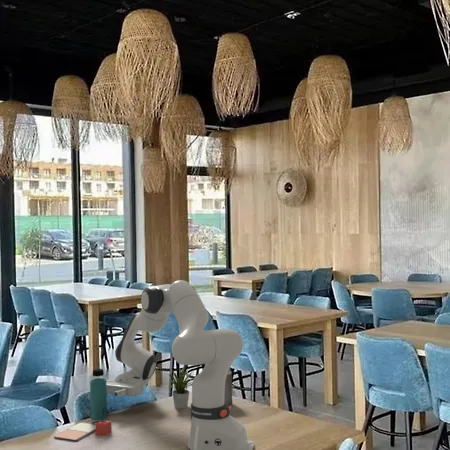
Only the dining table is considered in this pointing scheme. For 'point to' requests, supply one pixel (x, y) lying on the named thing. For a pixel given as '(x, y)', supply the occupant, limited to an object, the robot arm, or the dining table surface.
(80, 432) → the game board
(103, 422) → the red die
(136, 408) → the dining table surface
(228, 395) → the pillar candle
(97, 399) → the beverage bottle
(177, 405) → the house plant
